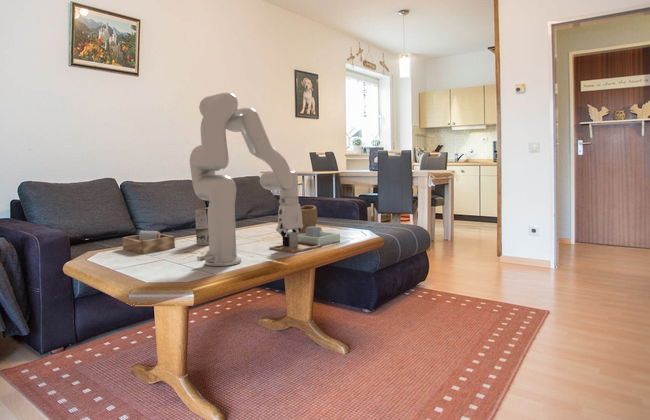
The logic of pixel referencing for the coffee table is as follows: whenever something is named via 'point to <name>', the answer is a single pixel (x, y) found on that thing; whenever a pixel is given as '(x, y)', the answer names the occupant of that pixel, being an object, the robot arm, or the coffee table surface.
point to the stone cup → (308, 217)
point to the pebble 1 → (292, 239)
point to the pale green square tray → (320, 238)
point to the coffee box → (202, 226)
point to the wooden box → (148, 244)
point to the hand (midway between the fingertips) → (290, 244)
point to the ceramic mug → (149, 235)
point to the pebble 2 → (313, 231)
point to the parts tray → (301, 247)
